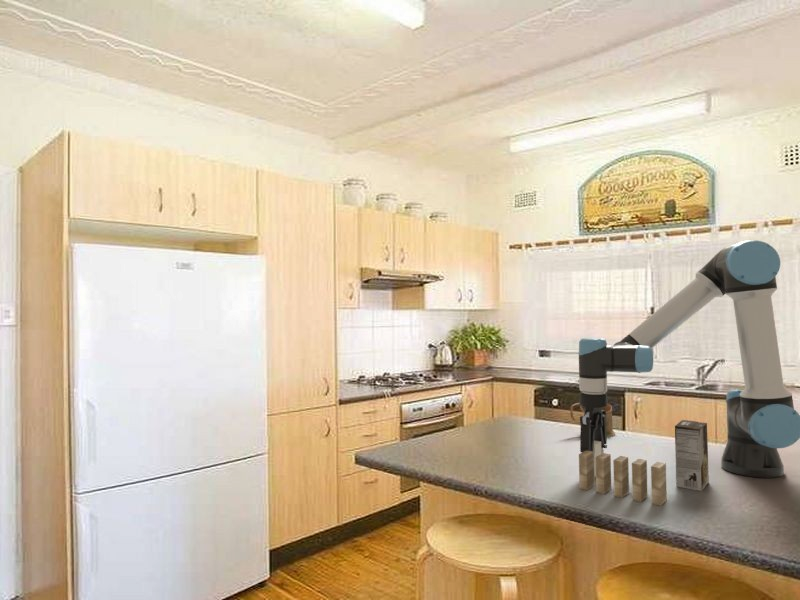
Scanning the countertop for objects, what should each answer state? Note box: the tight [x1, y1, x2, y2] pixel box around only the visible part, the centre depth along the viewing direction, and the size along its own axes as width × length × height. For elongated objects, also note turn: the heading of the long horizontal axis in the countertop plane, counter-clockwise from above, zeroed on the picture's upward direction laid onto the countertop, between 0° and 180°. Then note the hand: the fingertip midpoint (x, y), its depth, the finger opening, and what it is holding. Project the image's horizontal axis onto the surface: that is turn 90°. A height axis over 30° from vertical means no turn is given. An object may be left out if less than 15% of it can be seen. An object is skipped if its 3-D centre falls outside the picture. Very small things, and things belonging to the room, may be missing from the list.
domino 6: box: [650, 461, 668, 507], centre depth 133 cm, size 2×5×9 cm, turn 139°
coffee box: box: [674, 419, 710, 492], centre depth 146 cm, size 9×6×16 cm
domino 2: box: [593, 441, 602, 478], centre depth 156 cm, size 2×5×9 cm, turn 139°
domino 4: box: [612, 455, 630, 498], centre depth 139 cm, size 2×5×9 cm, turn 139°
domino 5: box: [631, 458, 648, 502], centre depth 136 cm, size 2×5×9 cm, turn 139°
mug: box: [569, 402, 616, 438], centre depth 204 cm, size 12×18×12 cm, turn 107°
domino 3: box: [595, 452, 612, 495], centre depth 142 cm, size 2×5×9 cm, turn 139°
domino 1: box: [578, 450, 595, 491], centre depth 145 cm, size 2×5×9 cm, turn 139°
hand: (594, 473), depth 156 cm, fingers open, 6 cm apart
